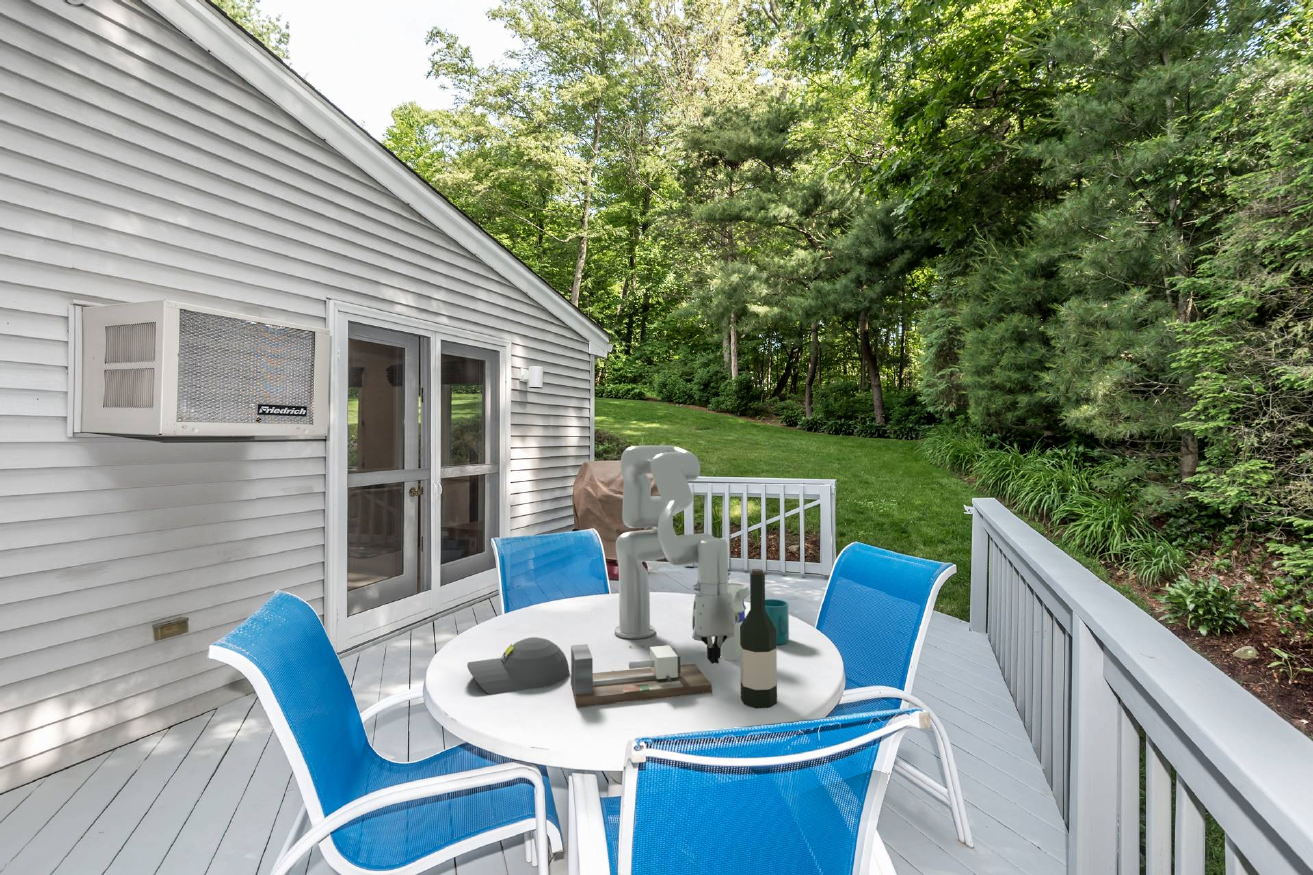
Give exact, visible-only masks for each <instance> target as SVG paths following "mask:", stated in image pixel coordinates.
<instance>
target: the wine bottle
mask: <svg viewBox="0 0 1313 875" xmlns="http://www.w3.org/2000/svg"><path fill="white" fill-rule="evenodd" d="M749 592H750V594H749V600H750V601H749V603H750V604H749V606H750V609H749V611H748V612H747V614H746V615H745V619H744V621H743V622H742V624H741V626H740V660H739V662H740V663H739V664H740V665H739V666H740V700H741V702H742V705H744V706H747V707H750V708H753V709H771V708H773V707H774V706H775V705H777V704H778V673H777V672H778V670H777V668H778V665H777V664H778V663H777V660H778V658H777V657H778V656H777V654H778V653H777V649H778V648H777V646H778V645H776V628H775V627H774V625H773V623H772V621H771V620H770V618H769V616H768V614H767V613H766V611H765V599H766V575H765V573H764V570H763V569H761V568H752V569H751V572H750V573H749Z"/></svg>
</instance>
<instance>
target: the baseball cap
mask: <svg viewBox="0 0 1313 875" xmlns="http://www.w3.org/2000/svg"><path fill="white" fill-rule="evenodd" d="M466 664H467V665H466V667H467V669H468V671H469V673H470V674H471V676H472V677H473V679H474V680H475V681H476V682H477V684H478V685H479V686H480V688H482V689H483V690H484V692H486V693H487V694H488V695H498V694H507V693H512V692H520V691H526V690H534V689H541V688H546V687H550V686H553V685H556V684H559V683H561V682H564V680H565V679H567V678H568V677H569V674H570V668H569V662H568V660H567V657H566V654H565V653H564V651H563V650H562V649H561V648H560V647H559V646H558V645H557V644H556V643H554V642H553V641H551V640H549V639H547V638H542V637H537V636H536V637H534V636H533V637H528V638H524V639H521V640H519V641H516V642H515V643H511V644H510V645H509V646H508V647H507V648H506V649H505V651H504V652H503V654H502V655H501V657H498V658H490V659H489V658H488V659H481V660H474V661H468V662H466Z"/></svg>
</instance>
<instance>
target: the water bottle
mask: <svg viewBox="0 0 1313 875" xmlns="http://www.w3.org/2000/svg"><path fill="white" fill-rule="evenodd" d="M731 574H732V573H731V572H729V571H728V581H730V578H729V577H730V575H731ZM728 592H729V593H731V595H732V599H733V605H734V614H735V632H734V637H731V638H727V639H726V640H725V641H724V642H723V644H722V646H721V647H720V656H721V657H720V659H721V658H722V659H723V658H724V659H723V660H725V661H726V660H727V661H732V660H739V661H740V626H741V624H742V622H743V621H744V619H745V617H746V612H745V611H746V609H747V606H746V605H745V601H744V600H745V599H747V598H748V597H750V589H749V587H748V586H747V585H746V584H743V583H740V582H739V583H738V582H728Z"/></svg>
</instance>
